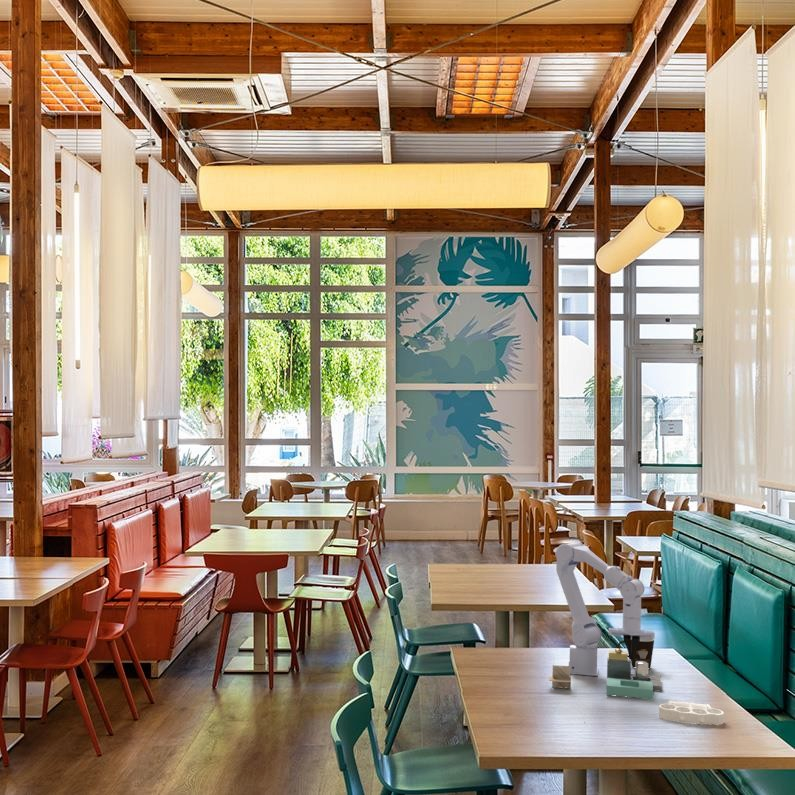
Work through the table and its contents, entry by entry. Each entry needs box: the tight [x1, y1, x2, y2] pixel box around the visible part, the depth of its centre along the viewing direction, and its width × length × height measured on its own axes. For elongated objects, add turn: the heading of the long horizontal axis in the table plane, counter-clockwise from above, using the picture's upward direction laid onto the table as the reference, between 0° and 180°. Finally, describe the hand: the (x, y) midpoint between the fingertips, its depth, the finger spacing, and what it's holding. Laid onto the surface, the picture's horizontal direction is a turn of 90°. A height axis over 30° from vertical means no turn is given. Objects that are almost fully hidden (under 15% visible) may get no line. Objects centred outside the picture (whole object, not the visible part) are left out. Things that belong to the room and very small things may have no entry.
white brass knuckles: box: [658, 700, 725, 725], centre depth 260 cm, size 3×18×15 cm
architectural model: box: [548, 664, 572, 690], centre depth 284 cm, size 3×7×7 cm, turn 85°
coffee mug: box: [617, 636, 655, 669], centre depth 313 cm, size 12×9×10 cm
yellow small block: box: [608, 648, 629, 661], centre depth 294 cm, size 6×2×3 cm, turn 76°
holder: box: [606, 677, 654, 700], centre depth 281 cm, size 14×9×3 cm, turn 76°
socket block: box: [606, 657, 663, 692], centre depth 292 cm, size 17×12×7 cm
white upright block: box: [634, 661, 649, 681], centre depth 292 cm, size 4×4×7 cm
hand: (631, 658), depth 293 cm, fingers closed
